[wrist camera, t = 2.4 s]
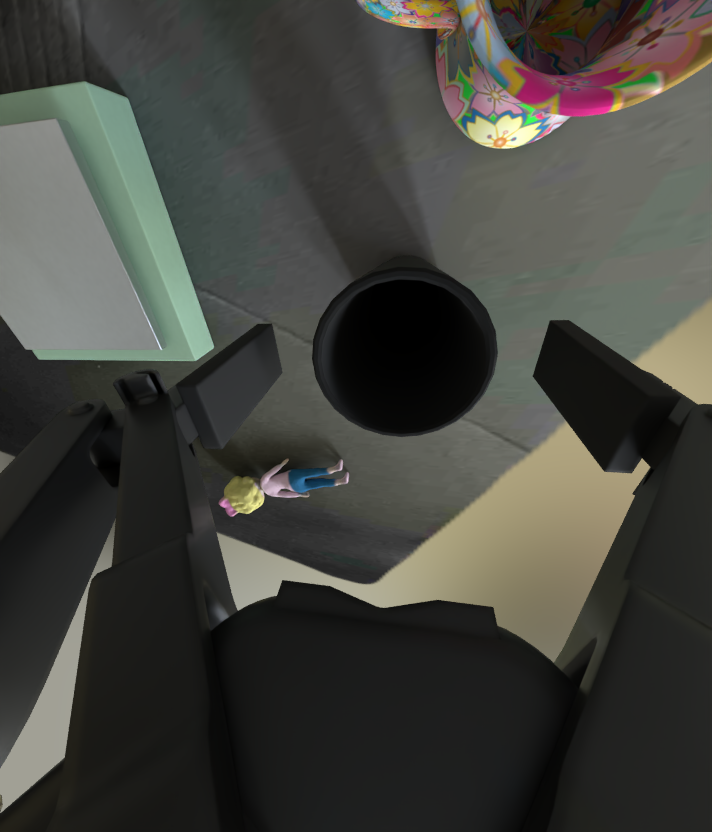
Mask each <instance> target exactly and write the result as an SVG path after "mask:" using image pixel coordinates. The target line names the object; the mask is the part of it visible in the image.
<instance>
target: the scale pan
mask: <svg viewBox="0 0 712 832" xmlns="http://www.w3.org/2000/svg"><path fill="white" fill-rule="evenodd" d="M0 315H1V316H2V318H3V319H4V320H5V322H6V323H7V325H8V326H9V327H10V329H11V330H12V331H13V333H14V334H15V335H16V337H17V338H18V340H19V341H20V342H21V344H22V345H23V346H24V348H25V349H26V350H162V349H164V348H166V347H167V344H166V341H165V339H164V337H163V334H162V332H161V330H160V328H159V325H158V323H157V321H156V319H155V316H154V314H153V312H152V309H151V307H150V305H149V303H148V300H147V298H146V296H145V294H144V291H143V289H142V287H141V285H140V282H139V280H138V278H137V275H136V273H135V271H134V269H133V266H132V264H131V262H130V260H129V257H128V255H127V253H126V250H125V248H124V246H123V244H122V241H121V239H120V237H119V235H118V232H117V230H116V228H115V225H114V223H113V221H112V219H111V216H110V214H109V212H108V210H107V207H106V205H105V203H104V201H103V198H102V196H101V194H100V191H99V189H98V187H97V185H96V182H95V180H94V178H93V176H92V173H91V171H90V169H89V166H88V164H87V162H86V160H85V157H84V155H83V153H82V151H81V148H80V146H79V144H78V142H77V139H76V137H75V135H74V132H73V130H72V128H71V126H70V123H69V122H68V121H66V120H62V119H58V118H50V119H43V120H36V121H29V122H22V123H15V124H8V125H1V126H0Z"/></svg>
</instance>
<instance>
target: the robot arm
mask: <svg viewBox="0 0 712 832" xmlns="http://www.w3.org/2000/svg"><path fill="white" fill-rule="evenodd" d="M281 374H282V368H281V363H280V359H279V354H278V350H277V345H276V340H275V336H274V331H273V326H272V324H257V325H256V326H254V327H253V328H252V329H250V330H249V331H248V332H246V333H245V334H244V335H242V336H241V337H240V338H238V339H237V340H236V341H234V342H233V343H231V344H230V345H229V346H227V347H226V348H225V349H223V350H222V351H221V352H219V353H218V354H217V355H215V356H214V357H213V358H211V359H210V360H209V361H207V362H206V363H204V364H203V365H202V366H200V367H199V368H198V369H196V370H195V371H194V372H192V373H191V374H190V375H188V376H187V377H186V378H184V379H183V380H181V381H180V382H179V383H177V384H176V385H175V386H173V387H172V388H171V389H169V390H168V391H167V389H166V387H165V385H164V382H163V380H162V378H161V376H160V374H159V372H158V371H157V370H153V369H147V370H140V371H135V372H132V373H128V374H126V375H124V376H121V377H119V378H118V379H116V380H115V381H114V383H113V385H114V387H115V389H116V390H117V392H118V394H119V395H120V397H121V399H122V400H123V402H124V404H125V409H119V410H112V411H110V410H109V408H108V406H107V405H106V403H105V402H104V401H103V400H101V399H92V400H86V401H79V402H76V403H73V404H71V405H70V406H69V407H67V408H65V409H63V410H62V411H60V412H59V413H58V414H57V415H56V416H55V417H54V418H53V419H52V420H51V421H50V422H49V423H48V424H47V425H46V426H45V427H44V428H43V430H42V431H41V432H40V433H39V434H38V435H37V436H36V437H35V438H34V439H33V440H32V441H31V442H30V443H29V444H28V445H27V446H26V447H25V448H24V449H23V450H22V451H21V452H20V453H19V454H18V455H17V457H16V458H15V459H14V460H13V461H12V462H11V463H10V464H9V465H8V466H7V467H6V468H5V469H4V470H3V471H2V472H1V473H0V768H1V766H2V764H3V763H4V761H5V760H6V758H7V756H8V755H9V753H10V751H11V749H12V747H13V745H14V744H15V742H16V740H17V738H18V737H19V735H20V733H21V731H22V729H23V728H24V726H25V724H26V722H27V720H28V718H29V717H30V714H31V712H32V710H33V708H34V706H35V704H36V702H37V700H38V698H39V695H40V693H41V691H42V689H43V687H44V685H45V683H46V680H47V678H48V676H49V673H50V671H51V668H52V666H53V664H54V662H55V659H56V657H57V654H58V652H59V650H60V648H61V645H62V643H63V641H64V638H65V636H66V633H67V631H68V629H69V626H70V624H71V622H72V619H73V617H74V615H75V612H76V610H77V608H78V605H79V603H80V601H81V598H82V596H83V594H84V591H85V589H86V586H87V584H88V582H89V579H90V577H91V575H92V572H93V570H94V568H95V565H96V563H97V561H98V558H99V556H100V554H101V551H102V549H103V547H104V544H105V542H106V539H107V537H108V535H109V533H110V530H111V528H112V525H113V523H114V521H115V518H116V524H115V536H114V548H113V560H112V567H110V568H108V569H106V570H104V571H102V572H100V573H97V574H96V576H94V578H93V579H92V581H91V584H90V588H89V592H88V599H87V606H86V613H85V620H84V627H83V634H82V641H81V648H80V656H79V662H78V669H77V676H76V683H75V690H74V698H73V704H72V711H71V718H70V725H69V732H68V740H67V746H66V753H65V758H64V759H63V760H62V761H60V762H59V763H58V764H57V765H56V766H55V767H53V768H52V769H51V770H50V771H49V772H48V773H47V774H45V775H44V776H43V777H42V778H41V779H40V780H38V781H37V782H36V783H35V784H34V785H33V786H31V787H30V788H29V789H28V790H27V791H26V792H25V793H23V794H22V795H21V796H20V797H19V798H18V799H17V800H15V801H14V802H13V803H12V804H11V805H10V806H8V807H7V808H6V809H5V810H4V811H3V812H2V813H0V832H712V405H711V404H699V405H698V404H696V403H695V402H693V401H692V400H690V399H689V398H687V397H686V396H684V395H683V394H681V393H680V392H678V391H677V390H675V389H672V387H671V386H669V385H668V384H666V383H663V381H662V380H660V379H659V378H657V377H656V376H654V375H653V374H651V373H649V372H646V371H644V370H641V369H640V368H638V367H637V366H636V365H634V364H633V363H631V362H630V361H628V360H627V359H625V358H624V357H622V356H621V355H619V354H618V353H616V352H615V351H613V350H612V349H611V348H609V347H608V346H606V345H605V344H603V343H602V342H600V341H599V340H597V339H596V338H594V337H593V336H591V335H590V334H588V333H587V332H585V331H584V330H583V329H581V328H580V327H578V326H577V325H575V324H574V323H572V322H571V321H569V320H550V322H549V325H548V329H547V332H546V335H545V338H544V342H543V345H542V348H541V351H540V354H539V358H538V361H537V364H536V367H535V371H534V374H533V377H534V379H535V380H536V381H537V383H538V384H539V385H540V387H541V388H542V389H543V391H544V392H545V393H546V395H547V396H548V397H549V399H550V400H551V401H552V403H553V404H554V405H555V407H556V408H557V409H558V411H559V412H560V413H561V415H562V416H563V417H564V419H565V420H566V421H567V423H568V424H569V425H570V427H571V428H572V429H573V431H574V432H575V433H576V435H577V436H578V437H579V439H580V440H581V441H582V443H583V444H584V445H585V446H586V448H587V449H588V451H589V452H590V453H591V455H592V456H593V457H594V459H595V460H596V461H597V463H598V464H599V465H600V466H601V468H602V469H603V470H604V471H605V472H620V473H632V472H633V471H634V469H635V468H636V466H637V464H638V463H639V462H640V460H641V458H643V459H644V461H645V462H646V463H647V464H648V465H649V466H650V469H649V470H648V472H647V473H646V475H645V476H644V478H643V479H642V481H641V482H640V483H639V485H638V486H637V488H636V489H635V491H634V492H633V495H635V497H634V500H633V501H632V504H631V506H630V508H629V510H628V512H627V514H626V516H625V518H624V521H623V523H622V525H621V527H620V529H619V531H618V533H617V535H616V538H615V540H614V542H613V544H612V546H611V548H610V550H609V552H608V555H607V557H606V559H605V561H604V563H603V565H602V567H601V569H600V572H599V574H598V576H597V578H596V580H595V582H594V584H593V586H592V589H591V591H590V593H589V595H588V597H587V599H586V601H585V603H584V606H583V608H582V610H581V612H580V614H579V616H578V619H577V621H576V623H575V625H574V627H573V629H572V631H571V633H570V635H569V637H568V640H567V642H566V644H565V646H564V648H563V649H562V651H561V653H560V654H559V656H558V657H557V659H556V661H555V662H554V663H553V662H552V661H551V660H550V659H548V658H547V657H546V656H545V655H544V654H543V653H541V652H540V651H539V650H538V649H536V648H535V647H534V646H532V645H531V644H529V643H528V642H526V641H525V640H523V639H522V638H520V637H519V636H517V635H515V634H513V633H512V632H510V631H508V630H506V629H504V628H502V627H499V626H497V623H496V618H495V614H494V608H493V607H488V606H480V605H473V604H465V603H456V602H449V601H441V600H434V601H428V602H421V603H415V604H408V605H401V606H394V607H388V608H380V607H376V606H374V605H372V604H369V603H367V602H365V601H363V600H360V599H358V598H356V597H353V596H351V595H349V594H346V593H344V592H342V591H340V590H337V589H335V588H333V587H331V586H325V585H316V584H308V583H301V582H293V581H284V580H282V583H281V586H280V589H279V592H278V595H277V596H274V597H270V598H266V599H263V600H260V601H257V602H255V603H253V604H250V605H248V606H246V607H244V608H243V609H241V610H239V611H238V610H237V608H236V605H235V602H234V600H233V596H232V593H231V589H230V585H229V581H228V577H227V573H226V569H225V565H224V561H223V557H222V553H221V549H220V545H219V541H218V537H217V533H216V529H215V525H214V521H213V517H212V513H211V509H210V505H209V501H208V498H207V494H206V490H205V486H204V482H203V478H202V474H201V470H200V466H199V462H198V458H197V454H196V450H195V448H194V446H193V444H192V442H193V441H194V440H195V439H196V438H197V437H199V439H200V441H201V443H202V445H203V448H210V449H222V448H223V447H224V446H225V445H226V443H227V442H228V441H229V440H230V438H231V437H232V436H233V435H234V433H235V432H236V431H237V429H238V428H239V427H240V426H241V424H242V423H243V422H244V421H245V419H246V418H247V417H248V416H249V414H250V413H251V412H252V410H253V409H254V408H255V407H256V405H257V404H258V403H259V402H260V400H261V399H262V398H263V397H264V395H265V394H266V393H267V391H268V390H269V389H270V388H271V386H272V385H273V384H274V383H275V381H276V380H277V379H278V378H279V376H280V375H281ZM2 805H3V804H2V796H1V795H0V811H1V808H2Z"/></svg>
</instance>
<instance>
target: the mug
mask: <svg viewBox="0 0 712 832" xmlns="http://www.w3.org/2000/svg"><path fill="white" fill-rule="evenodd" d="M356 2H357V4H358V5H359V6H360V7H361V8H362V9H363V10H364V11H366V12H367V13H369V14H370V15H372V16H374V17H376V18H378V19H380V20H383V21H385V22H388V23H392V24H395V25H400V26H405V27H413V28H437V34H436V70H437V78H438V84H439V88H440V92H441V96H442V99H443V102H444V105H445V107H446V109H447V111H448V113H449V115H450V117H451V118H452V120H453V122H454V123H455V124H456V126H457V127H458V128H459V129H460V130H461V131H462V132H463V133H464V134H465V135H466V136H467V137H469V138H470V139H471V140H473V141H475V142H477V143H479V144H481V145H484V146H487V147H491V148H505V149H506V148H514V147H519V146H523V145H526V144H529V143H531V142H534V141H536V140H538V139H540V138H542V137H544V136H545V135H547V134H549V133H550V132H552V131H553V130H555V129H556V128H557V127H559V126H560V125H561V124H562V123H564V122H565V121H566V120H567V119H568V118H569V117H571V116H590V115H598V114H604V113H608V112H612V111H616V110H620V109H623V108H626V107H629V106H631V105H634V104H637V103H640V102H642V101H644V100H646V99H649V98H651V97H653V96H655V95H657V94H660V93H662V92H663V91H665V90H667V89H669V88H671V87H673V86H674V85H676V84H678V83H680V82H682V81H683V80H685V79H686V78H688V77H689V76H691V75H693V74H694V73H696V72H697V71H699V70H700V69H702V68H703V67H705V66H706V65H708V64H709V63H710V62H712V0H356Z"/></svg>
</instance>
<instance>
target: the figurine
mask: <svg viewBox="0 0 712 832" xmlns="http://www.w3.org/2000/svg"><path fill="white" fill-rule="evenodd" d="M288 460H289V459H286V460H284V461H283V462H282V463H281V464H280V465H276V466H275V467H274V468H273V469H271V470H269V471H268V472H267V473H265V474H264V475H263V476H262V478H261V480H260V479H258V478H254V477H253V478H250V477H248V476H246V477H243V478H242V477H240V476H236V477H234V478H232V479H231V481H230V483H229V484H228V485H227V486H226V487H225V490H224V494H225V496H224V497H223V498H222V499H221V500H220V501H219V505H221V506H222V507H225V508H226V512H227V514H228V515H229V516H234V515H235V514H237V513H238V512H240V513H246V514H248V513H251V512H252V511H253V510H255V509H257V508H258V507H260V506H261V505H262V504H263V502H264V492H265V493H266V494H268V495H271V496H275V497H286V498H289V497H298V496H302V497H308V496H309V493H308V492H305V491H307V490H310V489H317V488H320V487H330V486H337V485H339V484H347V483H348V480H349V473H348V472H346V473H345V476H344V477H343V478H341V479H324V478H318V479H306V478H309V477H316V476H320V475H328V474H331V473H333V472H335V471H341V470H342V467H343V460H342V459H340V460H339V462H338V463H337V465H335V466H333V467H328V468H314V469H291V470H288V471H287V472H284V473H280V474H277V475H274V474H275V473H276V472H278V471H279V470H280V469H281V468H282V466H283V465H285V464H286V463H287V462H288ZM283 488H287V489H289V490H291V491H294V492H284V491H280V489H283ZM298 492H304V493H298Z"/></svg>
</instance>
